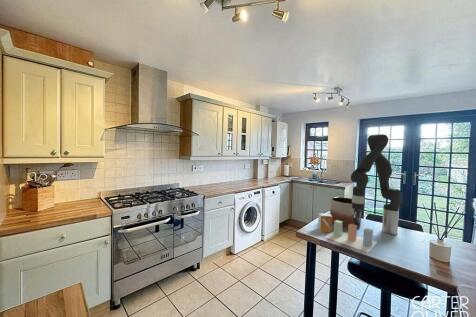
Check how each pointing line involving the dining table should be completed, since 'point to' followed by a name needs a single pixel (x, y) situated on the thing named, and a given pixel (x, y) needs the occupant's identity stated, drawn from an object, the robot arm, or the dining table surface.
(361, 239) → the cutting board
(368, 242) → the slate blue block
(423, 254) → the dining table surface
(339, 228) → the sage block
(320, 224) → the small box
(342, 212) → the planter
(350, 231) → the terracotta block
